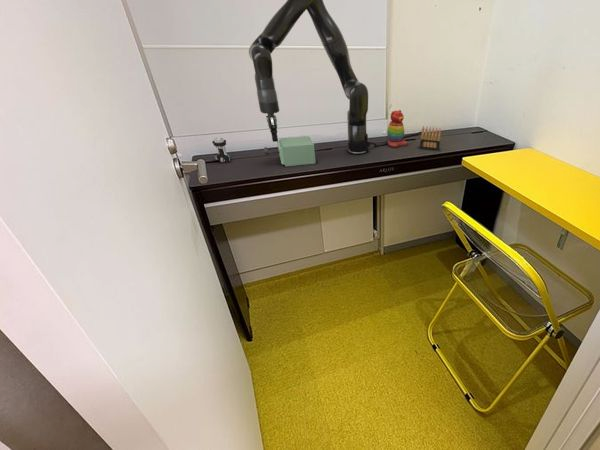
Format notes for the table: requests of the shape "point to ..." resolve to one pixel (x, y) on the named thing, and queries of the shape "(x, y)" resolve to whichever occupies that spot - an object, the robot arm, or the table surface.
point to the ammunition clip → (430, 139)
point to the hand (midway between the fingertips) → (275, 141)
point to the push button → (221, 150)
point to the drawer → (276, 152)
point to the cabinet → (298, 150)
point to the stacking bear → (396, 130)
